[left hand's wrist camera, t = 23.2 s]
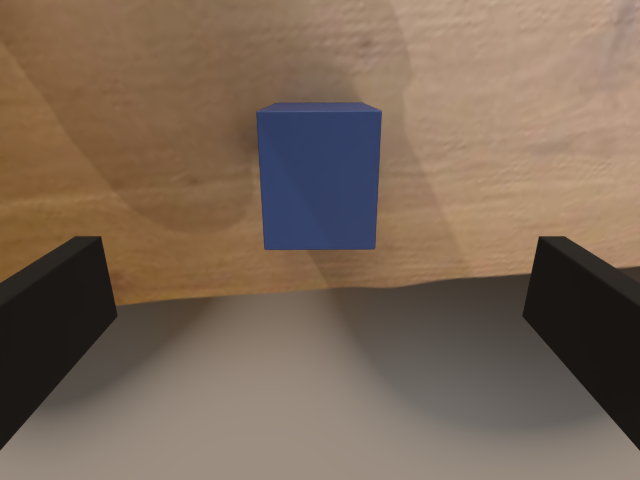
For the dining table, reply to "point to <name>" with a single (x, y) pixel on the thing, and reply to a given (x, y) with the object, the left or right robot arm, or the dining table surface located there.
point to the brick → (319, 175)
